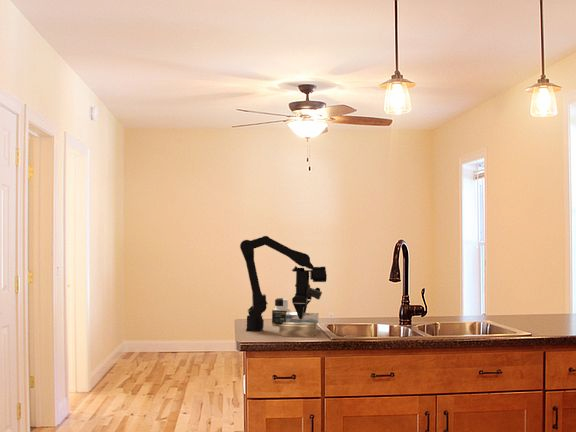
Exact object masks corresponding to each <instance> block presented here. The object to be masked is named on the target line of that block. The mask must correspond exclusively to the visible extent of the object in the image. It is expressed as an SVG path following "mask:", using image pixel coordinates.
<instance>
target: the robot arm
mask: <svg viewBox="0 0 576 432" xmlns="http://www.w3.org/2000/svg"><path fill="white" fill-rule="evenodd" d="M264 246H267V247H268V248H271V249H272V250H274V251H276V252H278V253H280V254H282V255H284V256H286V257H288V258H289V259H290V260H292V261H293V262H294V263H295V264H296V265H298V266H300V267H298V266H296V265H295V266H294V267H293V268H292V269H291V271H292V272H295V284H294V287H295V294H294V296H293V297H292V298H291V302H292V305H293V307H294V309H295V313H297V315H298V317H299V319H302V315H303V313H307V312H306V311H307V308H308V305H309V304H310V302H312V300H313V298H314V299H316V300H318V301H319V300H320V299H321V296H322V294H323V292H322V291H321V288H320V287H316V288H313V287H311V284H310V280H311V281H312V283H326V282H327V269H326V266H314V264H312V263H311V258H310V256H309V254H307V253H305V252H301V251H298V250H294V249H292V248H290V247H288V246H286V245H284V244H282V243H280V242H278V241H276V240H274V239H273V238H271V237H270V236H268V235H263V236H261V237H258V238H254V239H252V240H250V239H243V240H242V241H241V242H240V245H239V249H240V251H241V254H242V256H243V258H244V260H245V266H246V269H247V273H248V280H249V283H250V288H251V293H252V295H251V296H252V297H251V301H252V303H251V304H252V305H251V306H250V307H249V308H248V309H247V313H248V315H246V329H245V331H247V332H261V331H263V330H264V327H265V325H264V318H263V315H262V314H263V313H265V312H266V310H267V305H268V302H267V294H265V293H262V290H261V286H260V280H259V278H258V273H257V268H256V263H255V249H257V248H260V247H264ZM305 268H306V269H305ZM307 269H308V270H307Z"/></svg>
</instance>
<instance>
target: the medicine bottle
mask: <svg viewBox="0 0 576 432" xmlns="http://www.w3.org/2000/svg"><path fill="white" fill-rule="evenodd" d="M274 307H275V308H273V309H272V310H271V316H272V317H271V325H272V326H280V325H282V323H284V322H286V312H291V310H292V309H291V308H290V307H289V300H288V298H285V297H281V298H280V297H279V298H276V299H274Z"/></svg>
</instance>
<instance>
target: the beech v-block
mask: <svg viewBox="0 0 576 432" xmlns="http://www.w3.org/2000/svg"><path fill="white" fill-rule="evenodd" d="M278 326H279V331H278V335H279V336H282V337H305V338H306V337H310V338H311V337H312V338H313V337H314V336H315V335H316V334H317V331H316V323H287V322H284V323H282V325H278Z"/></svg>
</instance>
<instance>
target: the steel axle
mask: <svg viewBox="0 0 576 432" xmlns="http://www.w3.org/2000/svg"><path fill="white" fill-rule="evenodd" d="M319 317H320V316H319V312H318V313H317V312H306V313H303V315H302V319H299V317H298V315H297V312H296V311H295V312H286V322H294V323H309V322H315V323H317V324H319V319H320V318H319Z"/></svg>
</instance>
